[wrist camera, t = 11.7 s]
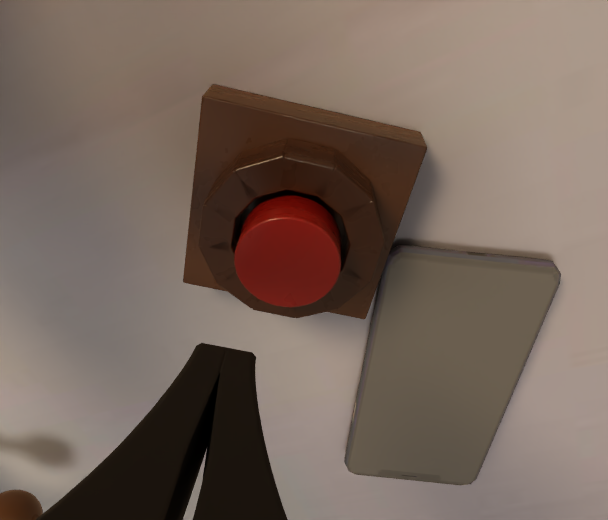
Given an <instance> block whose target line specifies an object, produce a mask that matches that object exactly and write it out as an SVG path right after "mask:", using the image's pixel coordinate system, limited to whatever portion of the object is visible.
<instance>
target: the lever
mask: <svg viewBox="0 0 608 520" xmlns="http://www.w3.org/2000/svg"><path fill="white" fill-rule="evenodd" d="M42 514H43V511H42V507H41V504H40V502H39V501H38V499H37V498H36V497H35V496H34V495H32V494H31V493H29V492H27V491H23V490H9V491H5V492H3V493H0V520H36V519H37V518H38V517H40V516H41V515H42Z"/></svg>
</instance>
